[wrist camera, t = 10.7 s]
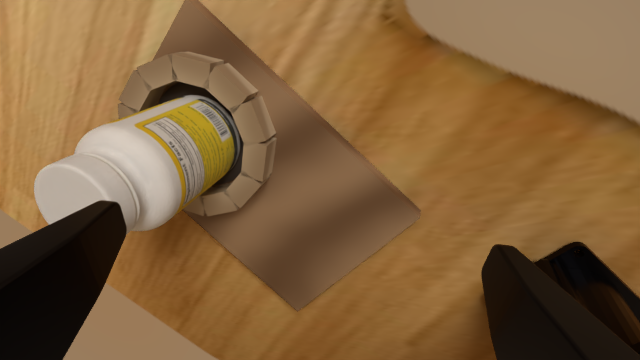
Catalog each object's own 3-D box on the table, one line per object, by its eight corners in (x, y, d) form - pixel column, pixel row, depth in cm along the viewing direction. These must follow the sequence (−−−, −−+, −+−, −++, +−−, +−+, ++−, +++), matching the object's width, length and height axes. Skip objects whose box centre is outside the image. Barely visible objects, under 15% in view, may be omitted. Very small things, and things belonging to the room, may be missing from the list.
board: (420, 210, 23) (418, 231, 21) (301, 302, 29) (290, 326, 26) (196, -2, 21) (168, -3, 19) (118, 139, 27) (90, 151, 25)
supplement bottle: (169, 166, 25) (33, 246, 17) (164, 86, 23) (2, 131, 14) (242, 184, 24) (137, 279, 16) (245, 102, 22) (122, 161, 13)
